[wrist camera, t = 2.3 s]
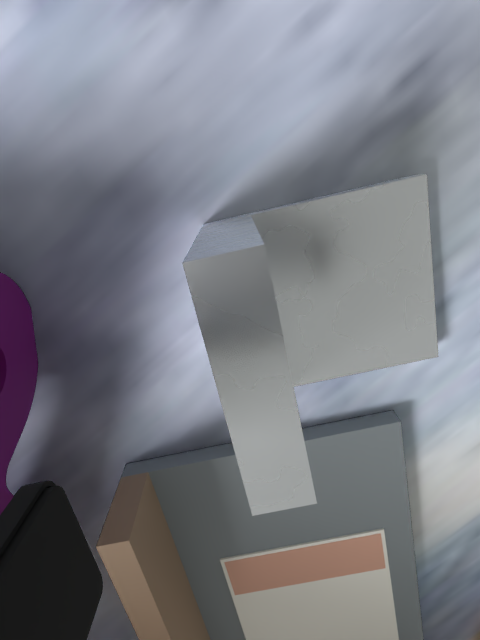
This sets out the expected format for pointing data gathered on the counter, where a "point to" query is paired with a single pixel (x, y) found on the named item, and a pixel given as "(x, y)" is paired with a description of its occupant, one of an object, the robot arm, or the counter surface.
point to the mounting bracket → (14, 373)
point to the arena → (269, 544)
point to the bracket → (309, 314)
